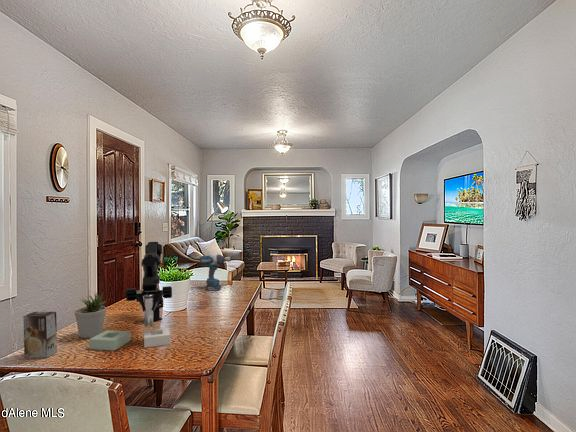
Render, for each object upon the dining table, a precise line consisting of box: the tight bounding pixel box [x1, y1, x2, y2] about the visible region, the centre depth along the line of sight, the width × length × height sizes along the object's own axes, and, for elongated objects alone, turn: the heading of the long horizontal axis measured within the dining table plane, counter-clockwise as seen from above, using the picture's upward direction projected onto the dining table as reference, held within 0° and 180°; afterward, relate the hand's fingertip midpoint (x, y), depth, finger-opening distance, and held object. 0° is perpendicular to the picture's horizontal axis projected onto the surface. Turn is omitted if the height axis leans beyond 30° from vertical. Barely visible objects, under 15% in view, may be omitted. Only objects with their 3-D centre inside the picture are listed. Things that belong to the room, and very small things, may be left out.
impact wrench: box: [198, 253, 232, 292], centre depth 250 cm, size 8×23×25 cm, turn 89°
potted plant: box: [73, 291, 107, 339], centre depth 158 cm, size 13×14×20 cm
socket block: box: [143, 327, 171, 349], centre depth 150 cm, size 10×10×4 cm
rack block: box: [88, 329, 132, 351], centre depth 148 cm, size 11×11×4 cm
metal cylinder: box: [143, 294, 154, 328], centre depth 151 cm, size 4×4×13 cm
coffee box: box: [22, 311, 58, 359], centre depth 137 cm, size 9×6×16 cm
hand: (148, 310), depth 150 cm, fingers closed on metal cylinder, 3 cm apart
